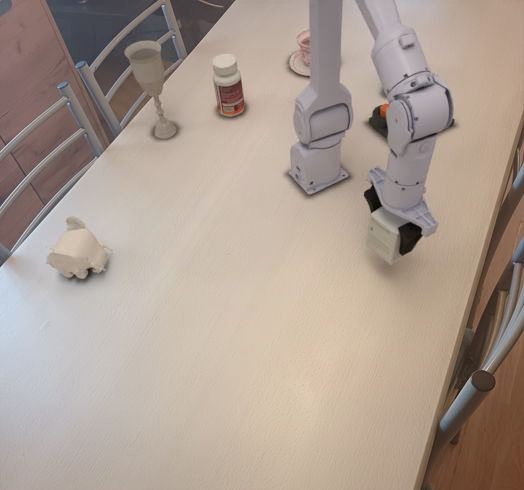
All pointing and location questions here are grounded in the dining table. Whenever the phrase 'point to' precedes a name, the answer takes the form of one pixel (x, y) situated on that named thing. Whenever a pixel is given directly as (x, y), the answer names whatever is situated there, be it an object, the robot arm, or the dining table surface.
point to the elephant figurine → (77, 251)
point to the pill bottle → (228, 85)
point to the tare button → (383, 110)
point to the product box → (385, 234)
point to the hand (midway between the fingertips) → (392, 238)
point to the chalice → (150, 79)
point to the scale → (384, 122)
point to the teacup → (302, 54)
